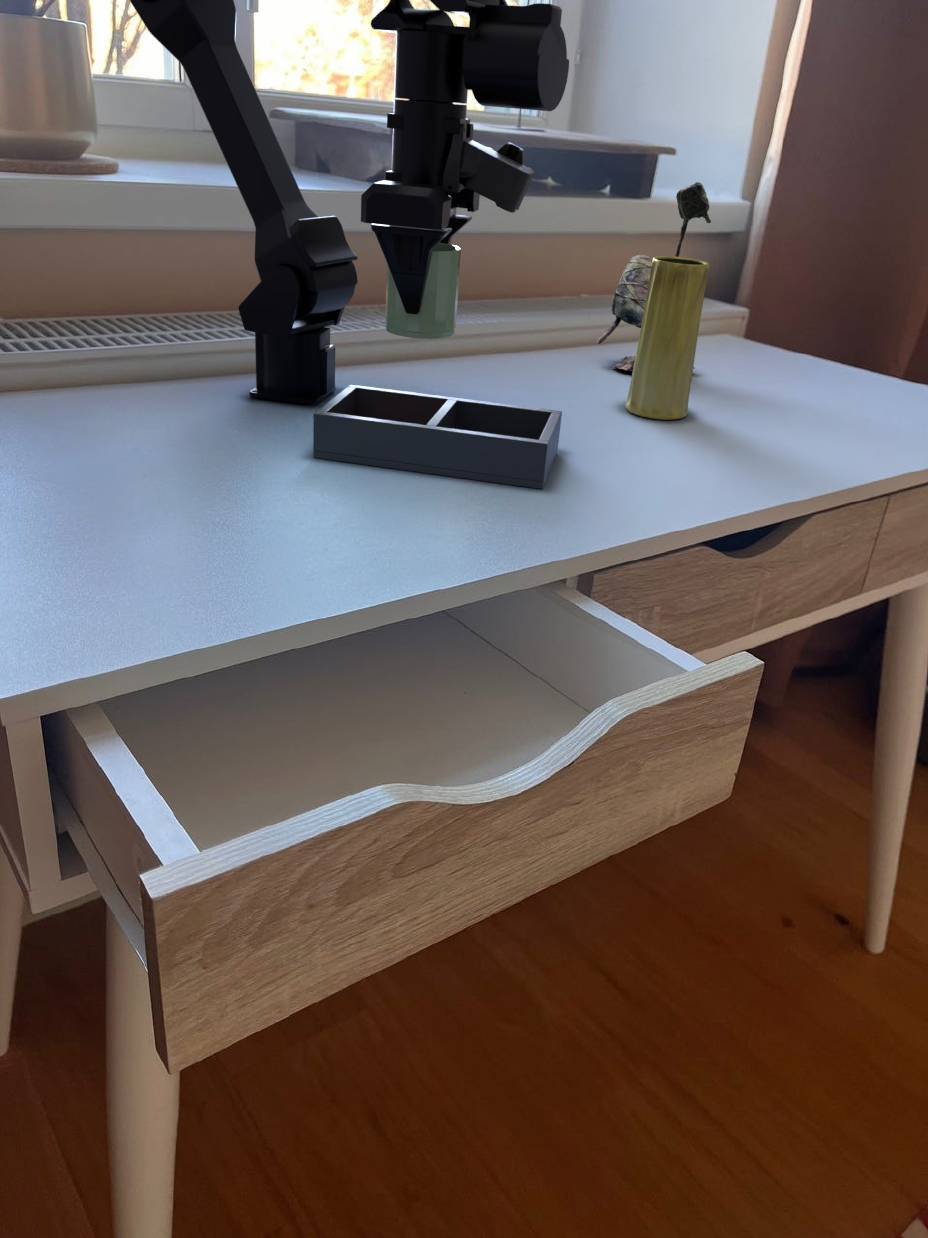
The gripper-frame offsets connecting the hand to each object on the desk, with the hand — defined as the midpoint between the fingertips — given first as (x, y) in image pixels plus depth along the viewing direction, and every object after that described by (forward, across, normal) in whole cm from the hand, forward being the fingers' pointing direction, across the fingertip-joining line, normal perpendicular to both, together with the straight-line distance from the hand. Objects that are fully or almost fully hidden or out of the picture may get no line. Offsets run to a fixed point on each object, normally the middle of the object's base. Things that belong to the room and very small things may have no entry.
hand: (420, 307), depth 85 cm
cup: (+2, 0, 0) cm, 2 cm away
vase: (+10, +13, -22) cm, 27 cm away
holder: (+10, -8, -4) cm, 14 cm away
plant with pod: (+10, +31, -20) cm, 38 cm away
